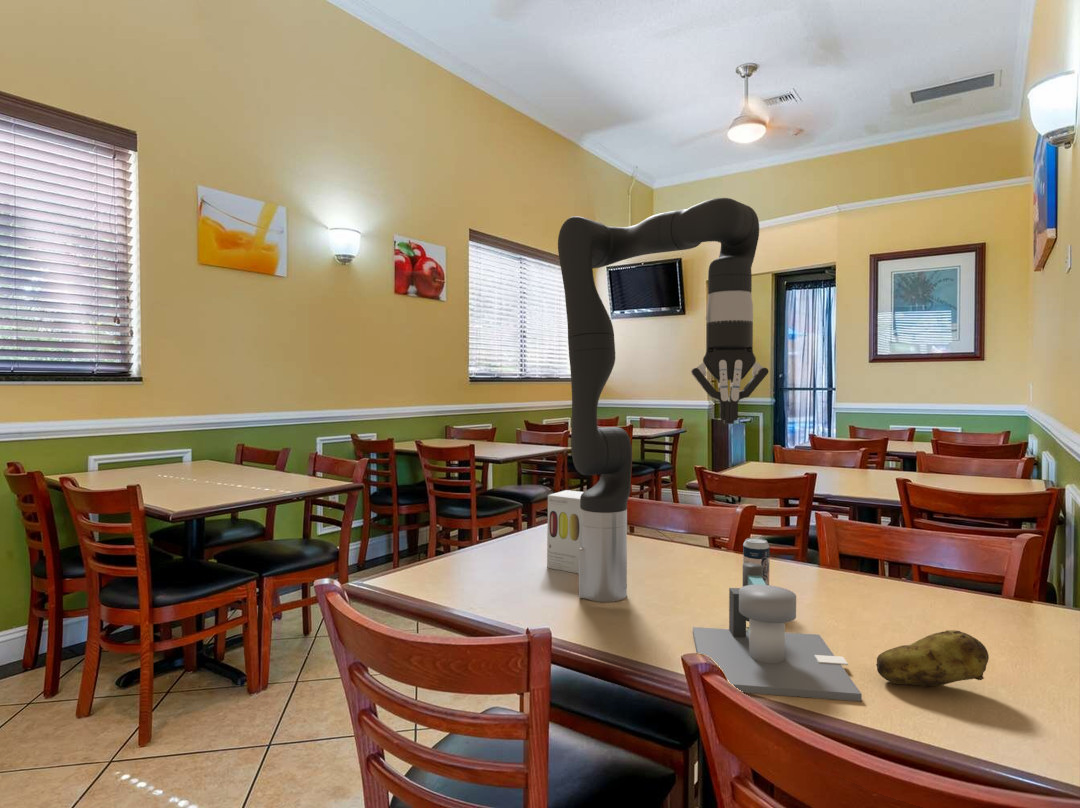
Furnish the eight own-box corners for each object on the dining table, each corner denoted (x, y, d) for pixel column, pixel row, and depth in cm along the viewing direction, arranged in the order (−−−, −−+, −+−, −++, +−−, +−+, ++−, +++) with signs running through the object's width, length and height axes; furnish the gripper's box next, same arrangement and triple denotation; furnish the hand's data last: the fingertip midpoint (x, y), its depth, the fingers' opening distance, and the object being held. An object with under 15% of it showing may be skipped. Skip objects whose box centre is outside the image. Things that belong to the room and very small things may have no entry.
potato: (880, 664, 93) (880, 611, 93) (986, 687, 86) (987, 629, 85) (874, 686, 86) (875, 629, 86) (989, 713, 79) (991, 650, 78)
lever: (801, 661, 89) (802, 598, 88) (743, 657, 90) (743, 595, 90) (775, 616, 106) (775, 563, 106) (726, 614, 107) (726, 561, 107)
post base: (703, 689, 85) (704, 631, 85) (692, 630, 106) (692, 583, 105) (869, 702, 82) (870, 641, 81) (824, 638, 102) (824, 590, 102)
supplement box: (545, 568, 143) (545, 494, 142) (565, 558, 151) (565, 489, 150) (582, 574, 138) (582, 498, 137) (601, 564, 146) (601, 492, 145)
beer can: (771, 608, 116) (771, 544, 116) (744, 606, 117) (744, 542, 117) (766, 599, 121) (767, 538, 121) (741, 598, 122) (741, 537, 122)
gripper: (690, 319, 103) (690, 424, 103) (775, 317, 101) (774, 425, 101) (687, 323, 110) (687, 422, 111) (766, 322, 108) (765, 422, 108)
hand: (728, 423), depth 106 cm, fingers closed
